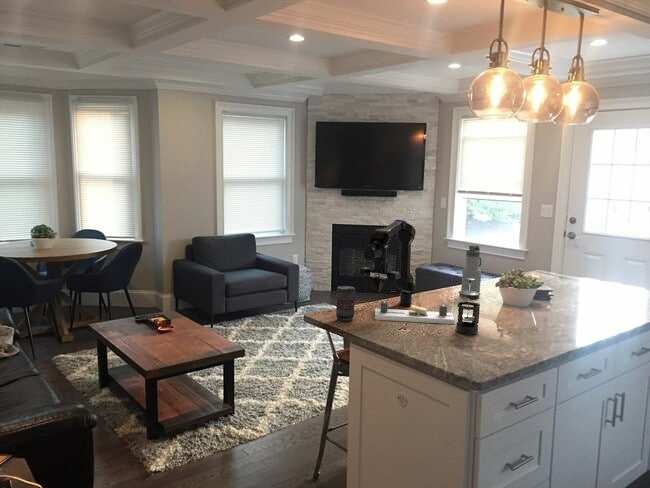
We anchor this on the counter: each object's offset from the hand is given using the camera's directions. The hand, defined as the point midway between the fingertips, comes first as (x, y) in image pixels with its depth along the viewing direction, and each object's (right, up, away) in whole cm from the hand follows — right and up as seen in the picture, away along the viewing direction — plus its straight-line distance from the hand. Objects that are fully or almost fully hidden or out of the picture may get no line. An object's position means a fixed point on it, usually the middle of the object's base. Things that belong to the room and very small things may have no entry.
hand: (378, 292), depth 248 cm
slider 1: (+3, -9, +1) cm, 9 cm away
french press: (+36, -15, -18) cm, 43 cm away
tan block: (+18, -8, 0) cm, 20 cm away
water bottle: (+55, -7, +48) cm, 73 cm away
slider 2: (+29, -10, -1) cm, 31 cm away
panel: (+16, -12, 0) cm, 20 cm away
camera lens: (-16, -12, -8) cm, 21 cm away
